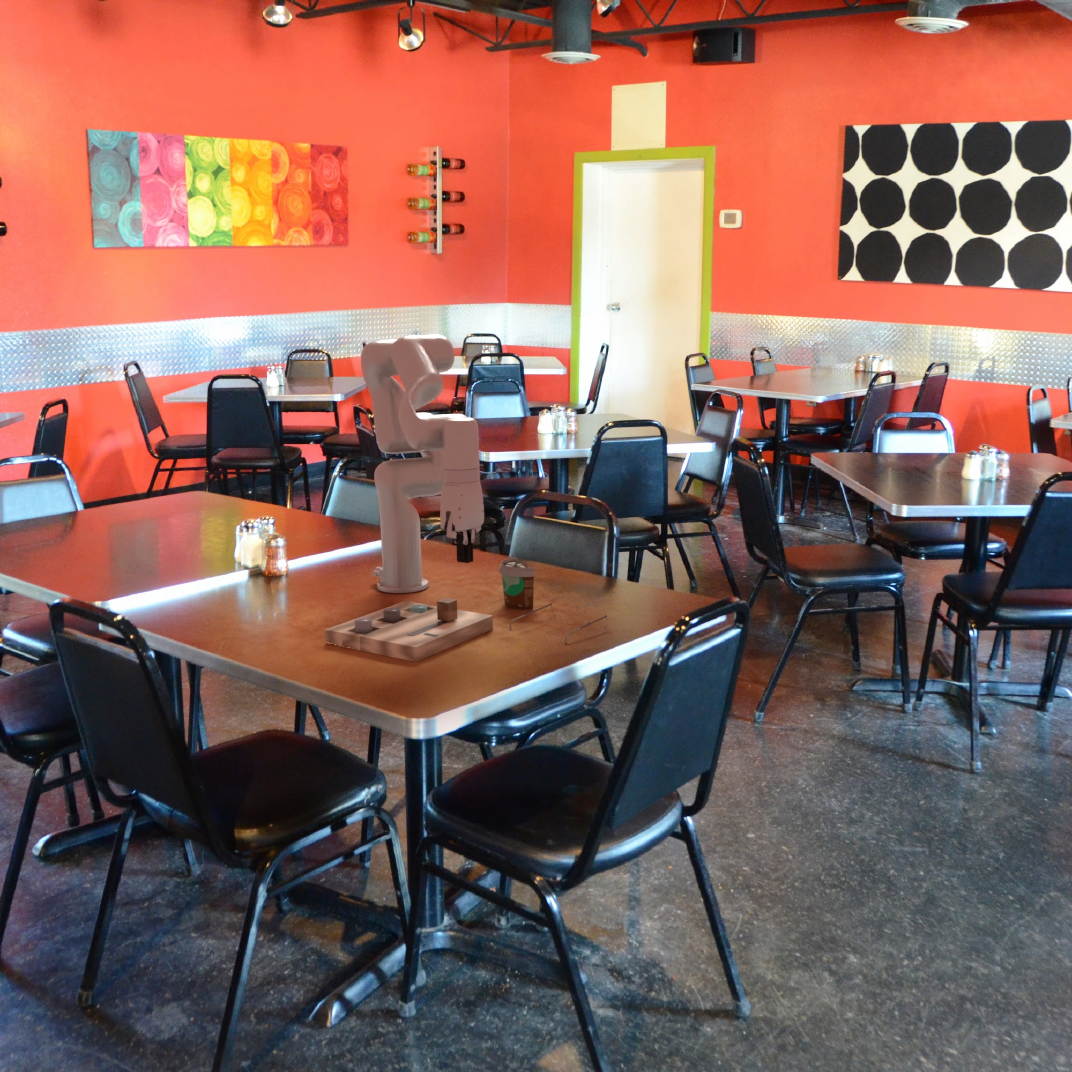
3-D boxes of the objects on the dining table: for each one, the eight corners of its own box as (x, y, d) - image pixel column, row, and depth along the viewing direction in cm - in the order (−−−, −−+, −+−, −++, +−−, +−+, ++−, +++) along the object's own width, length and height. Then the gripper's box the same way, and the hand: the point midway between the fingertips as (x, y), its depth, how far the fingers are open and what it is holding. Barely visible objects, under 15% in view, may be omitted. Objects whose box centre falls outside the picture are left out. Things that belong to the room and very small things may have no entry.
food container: (492, 600, 272) (491, 558, 270) (517, 597, 275) (516, 556, 272) (509, 613, 261) (508, 570, 259) (535, 610, 263) (534, 567, 261)
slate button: (351, 635, 240) (350, 621, 239) (363, 630, 243) (362, 617, 242) (364, 637, 238) (364, 623, 237) (376, 633, 241) (375, 619, 240)
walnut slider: (437, 619, 245) (436, 601, 244) (446, 616, 247) (445, 598, 247) (448, 621, 243) (448, 603, 243) (457, 618, 246) (456, 599, 245)
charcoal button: (380, 624, 247) (379, 610, 246) (391, 620, 250) (390, 606, 249) (393, 626, 245) (392, 613, 245) (404, 622, 248) (403, 609, 247)
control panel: (326, 643, 241) (325, 629, 241) (406, 613, 262) (405, 600, 262) (416, 661, 228) (415, 646, 228) (493, 629, 249) (492, 615, 249)
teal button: (407, 620, 255) (407, 607, 254) (418, 617, 258) (417, 603, 257) (420, 623, 253) (420, 609, 252) (430, 619, 256) (430, 606, 255)
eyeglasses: (611, 628, 250) (611, 606, 249) (565, 645, 239) (565, 621, 238) (555, 616, 260) (554, 594, 259) (509, 631, 249) (508, 608, 248)
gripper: (468, 471, 253) (471, 553, 256) (425, 480, 240) (429, 566, 244) (497, 472, 249) (499, 556, 252) (454, 482, 236) (458, 570, 240)
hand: (465, 561), depth 248 cm, fingers closed
